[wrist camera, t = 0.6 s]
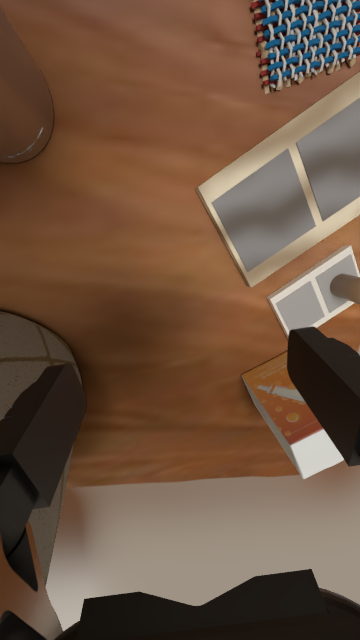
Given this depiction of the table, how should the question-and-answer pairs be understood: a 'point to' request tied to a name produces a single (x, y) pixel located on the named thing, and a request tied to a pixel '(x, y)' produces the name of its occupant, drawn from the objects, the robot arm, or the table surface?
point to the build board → (290, 186)
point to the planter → (5, 387)
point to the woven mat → (305, 37)
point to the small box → (290, 417)
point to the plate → (318, 292)
